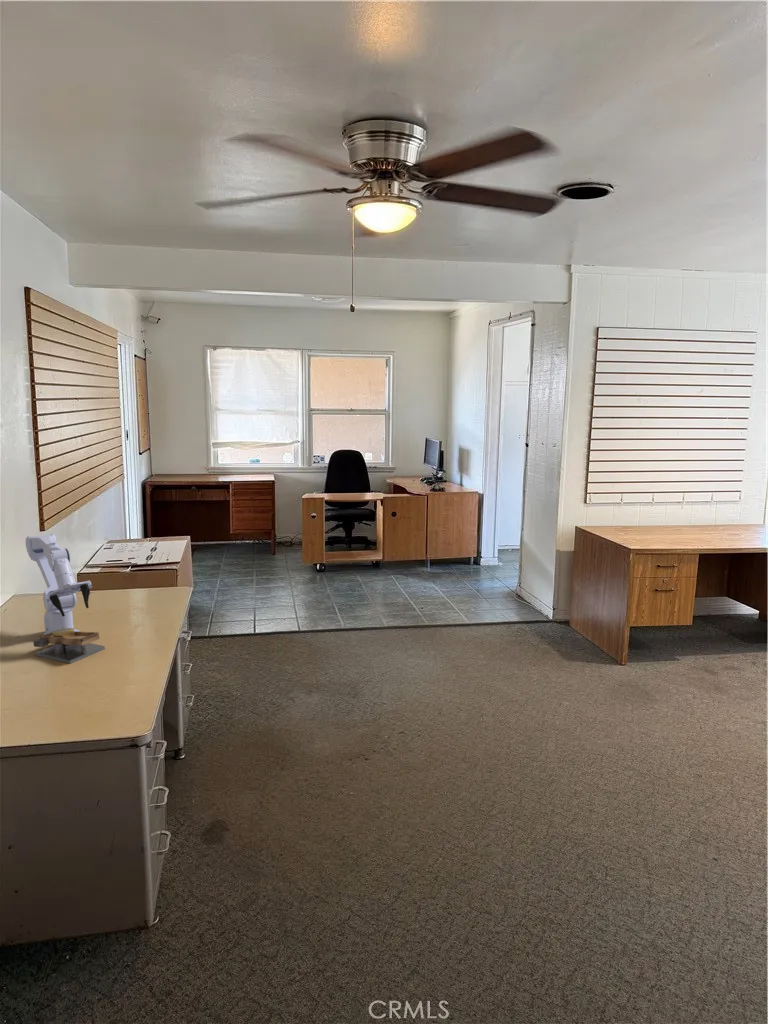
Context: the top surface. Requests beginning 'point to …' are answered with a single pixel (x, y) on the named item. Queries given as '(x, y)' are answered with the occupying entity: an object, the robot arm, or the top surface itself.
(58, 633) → the yellow block
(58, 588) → the robot arm
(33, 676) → the top surface
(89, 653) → the pivot stand
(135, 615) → the top surface
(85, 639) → the brown wooden tray
